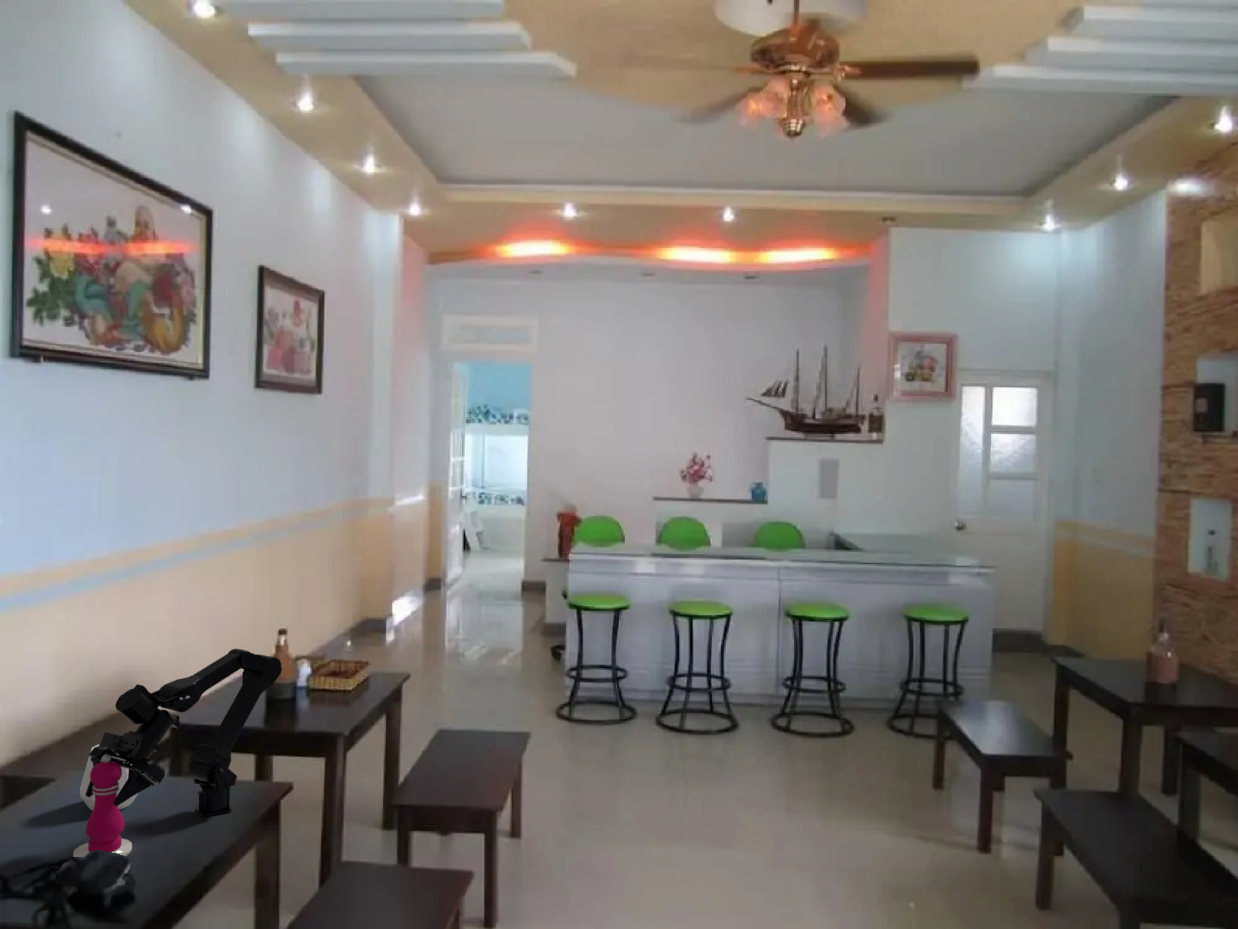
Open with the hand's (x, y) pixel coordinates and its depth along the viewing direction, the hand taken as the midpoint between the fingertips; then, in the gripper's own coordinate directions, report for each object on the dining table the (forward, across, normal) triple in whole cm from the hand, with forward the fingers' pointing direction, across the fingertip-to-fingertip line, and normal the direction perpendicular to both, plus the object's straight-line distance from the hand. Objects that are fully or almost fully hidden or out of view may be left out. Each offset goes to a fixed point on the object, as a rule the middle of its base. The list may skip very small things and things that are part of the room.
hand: (100, 800), depth 206 cm
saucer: (+8, 0, +8) cm, 11 cm away
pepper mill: (+7, 0, +8) cm, 11 cm away
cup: (-5, -23, +21) cm, 32 cm away
